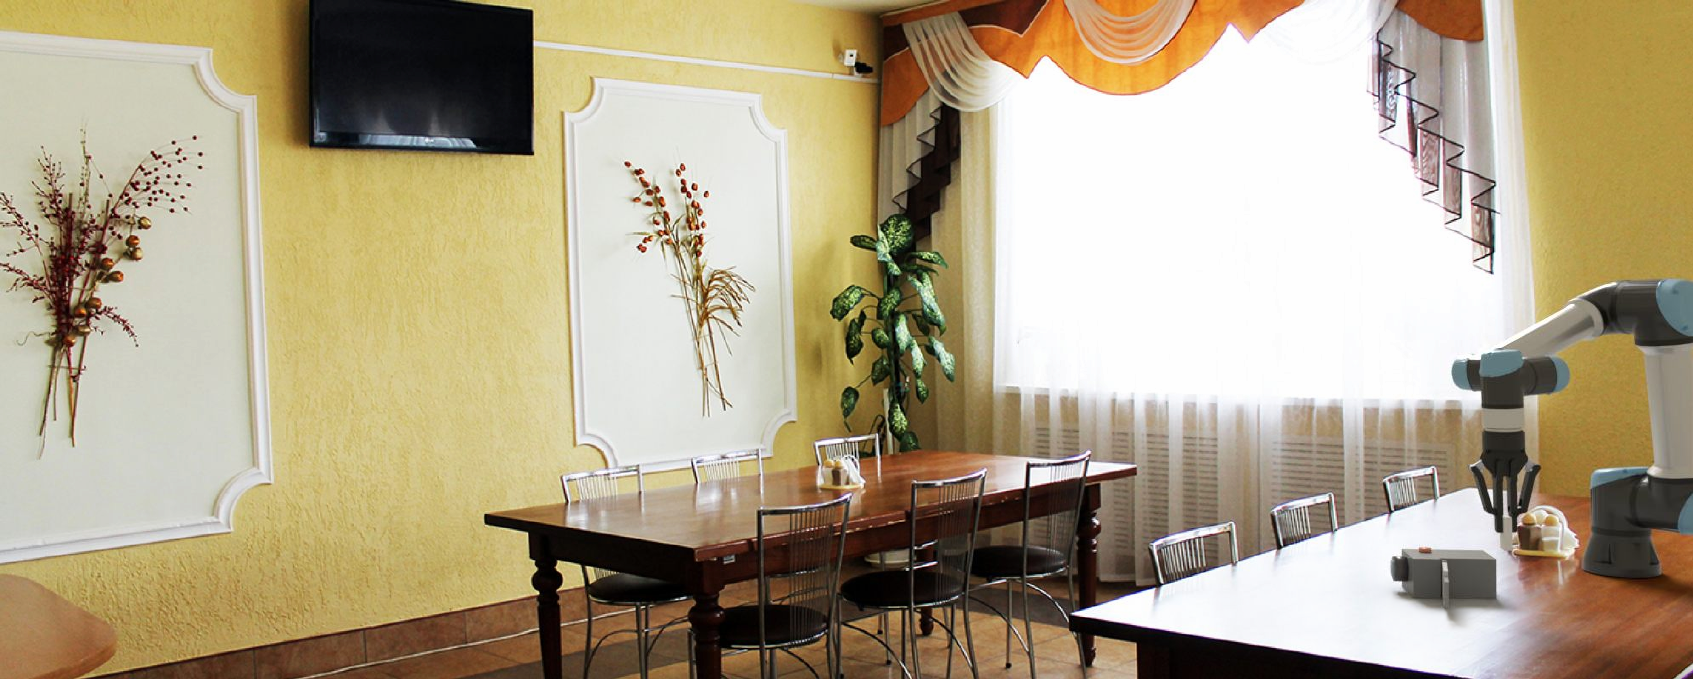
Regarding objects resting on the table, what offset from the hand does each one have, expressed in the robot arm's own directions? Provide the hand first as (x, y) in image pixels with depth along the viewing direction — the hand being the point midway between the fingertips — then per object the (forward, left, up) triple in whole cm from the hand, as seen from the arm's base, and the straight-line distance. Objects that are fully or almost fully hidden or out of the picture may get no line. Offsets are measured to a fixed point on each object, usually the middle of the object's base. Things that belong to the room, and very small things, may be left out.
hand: (1506, 548), depth 259 cm
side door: (+11, 0, -12) cm, 16 cm away
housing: (+9, -13, -12) cm, 20 cm away
